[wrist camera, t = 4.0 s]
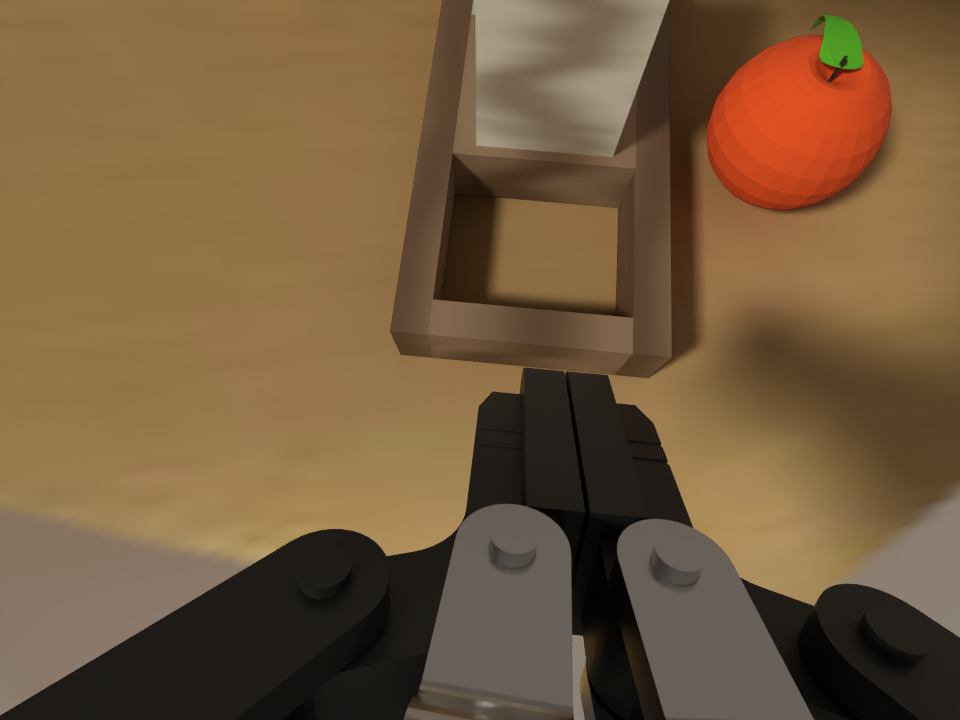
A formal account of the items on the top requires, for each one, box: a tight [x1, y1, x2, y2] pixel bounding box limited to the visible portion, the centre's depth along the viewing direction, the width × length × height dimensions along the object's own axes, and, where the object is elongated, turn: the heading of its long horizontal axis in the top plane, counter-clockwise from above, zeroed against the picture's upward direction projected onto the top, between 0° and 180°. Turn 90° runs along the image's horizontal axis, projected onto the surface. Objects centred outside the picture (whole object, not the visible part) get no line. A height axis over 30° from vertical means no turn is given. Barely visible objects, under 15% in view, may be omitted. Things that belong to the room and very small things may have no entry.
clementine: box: [707, 14, 892, 209], centre depth 24 cm, size 8×7×7 cm
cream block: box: [475, 0, 669, 157], centre depth 21 cm, size 6×6×8 cm
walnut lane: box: [390, 0, 672, 378], centre depth 27 cm, size 11×30×3 cm, turn 174°
